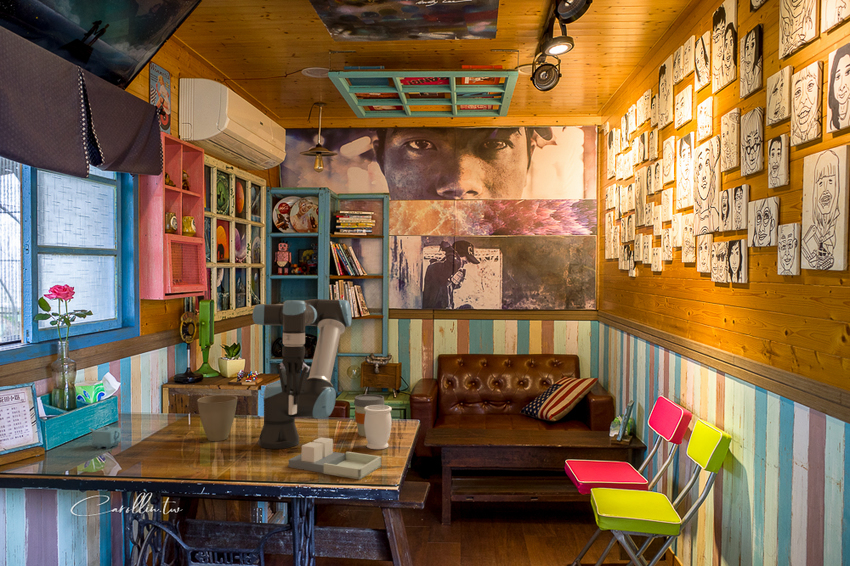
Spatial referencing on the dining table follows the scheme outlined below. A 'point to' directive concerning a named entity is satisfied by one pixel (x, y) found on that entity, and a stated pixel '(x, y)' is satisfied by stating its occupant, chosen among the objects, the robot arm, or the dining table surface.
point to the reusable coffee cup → (360, 412)
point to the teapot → (106, 437)
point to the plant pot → (217, 415)
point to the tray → (354, 466)
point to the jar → (377, 426)
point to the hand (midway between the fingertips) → (292, 413)
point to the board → (318, 465)
